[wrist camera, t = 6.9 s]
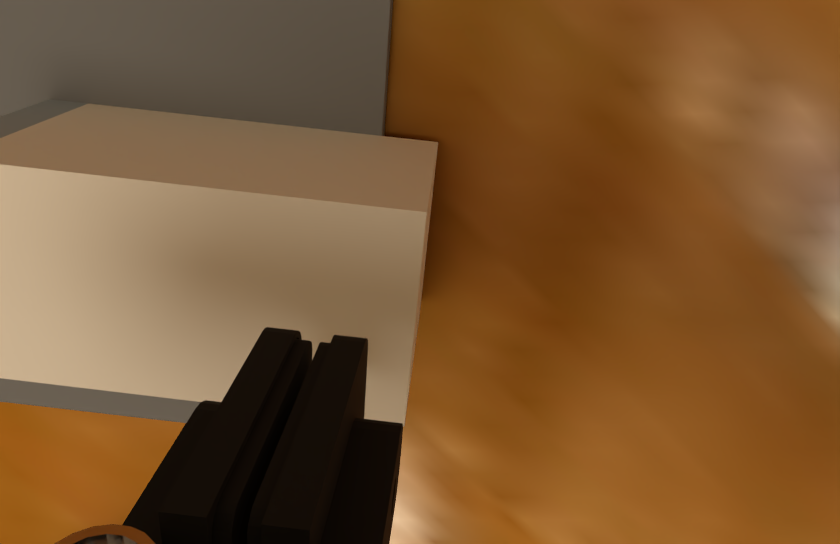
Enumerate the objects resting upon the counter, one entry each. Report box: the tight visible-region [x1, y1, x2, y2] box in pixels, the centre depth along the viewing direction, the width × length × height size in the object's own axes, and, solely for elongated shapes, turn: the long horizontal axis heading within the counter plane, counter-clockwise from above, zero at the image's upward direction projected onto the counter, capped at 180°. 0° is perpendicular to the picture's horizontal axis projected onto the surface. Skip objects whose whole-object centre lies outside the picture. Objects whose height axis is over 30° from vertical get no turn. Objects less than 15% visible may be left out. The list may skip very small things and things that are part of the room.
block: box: [0, 99, 438, 426], centre depth 15 cm, size 5×5×10 cm
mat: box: [0, 0, 393, 423], centre depth 18 cm, size 12×15×1 cm
